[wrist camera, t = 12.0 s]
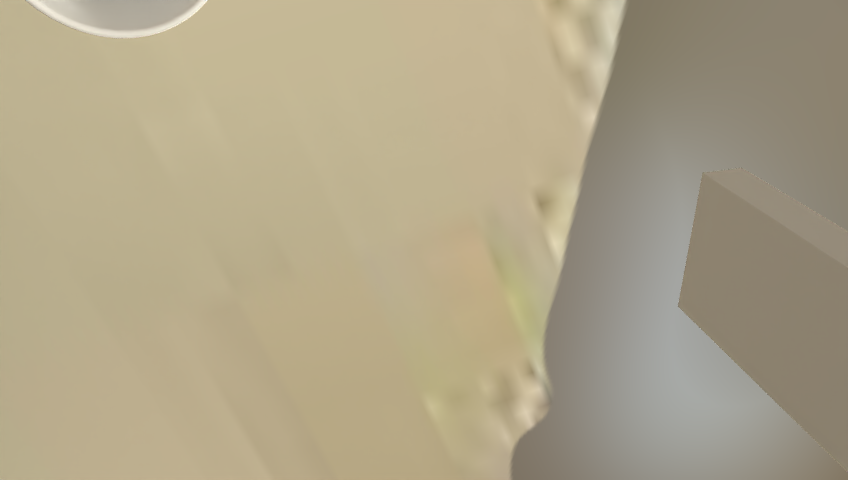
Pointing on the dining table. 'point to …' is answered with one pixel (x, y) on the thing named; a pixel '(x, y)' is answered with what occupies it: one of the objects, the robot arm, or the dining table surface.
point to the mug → (119, 15)
